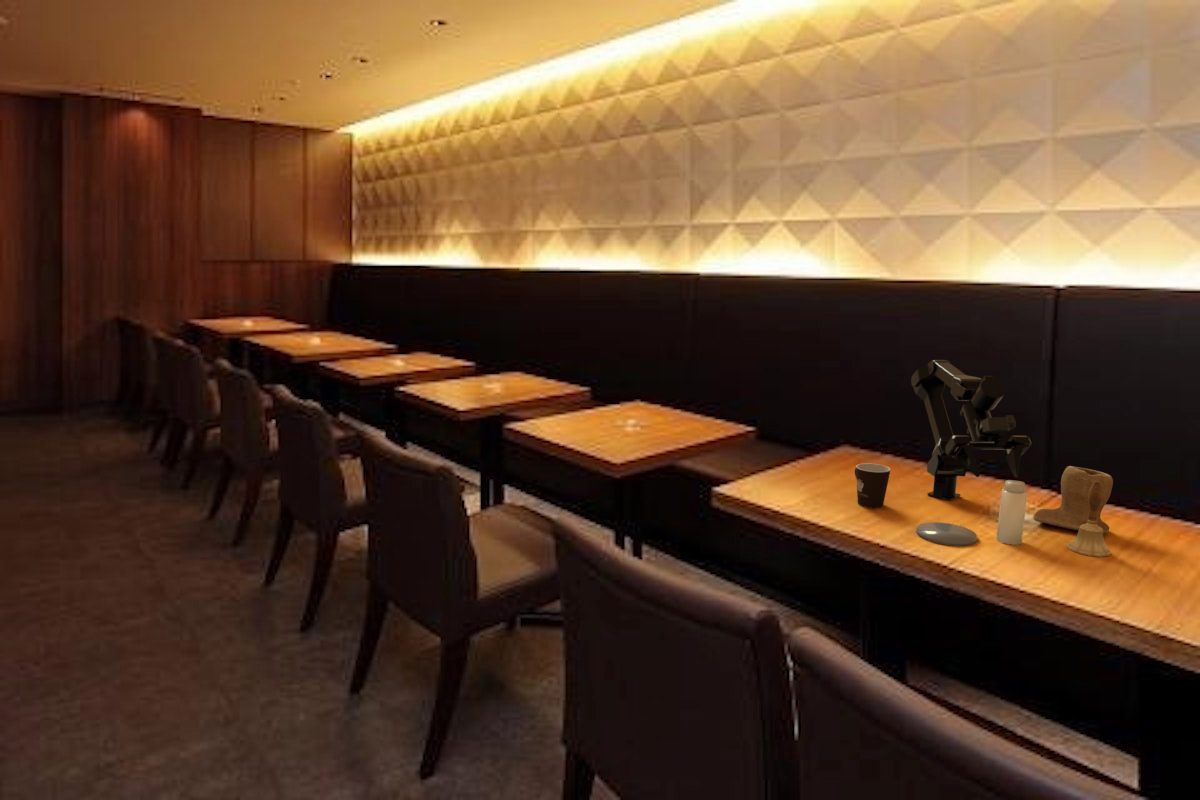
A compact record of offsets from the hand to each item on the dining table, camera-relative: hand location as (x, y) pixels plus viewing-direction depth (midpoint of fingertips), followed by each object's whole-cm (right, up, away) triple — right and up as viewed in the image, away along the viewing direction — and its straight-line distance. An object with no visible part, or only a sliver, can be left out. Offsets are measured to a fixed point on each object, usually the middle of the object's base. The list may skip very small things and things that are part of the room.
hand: (997, 476), depth 187 cm
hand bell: (+15, -16, -10) cm, 24 cm away
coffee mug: (-23, -9, +22) cm, 33 cm away
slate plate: (-13, -14, -2) cm, 19 cm away
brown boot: (+21, -13, +5) cm, 25 cm away
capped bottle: (0, -14, -5) cm, 15 cm away
